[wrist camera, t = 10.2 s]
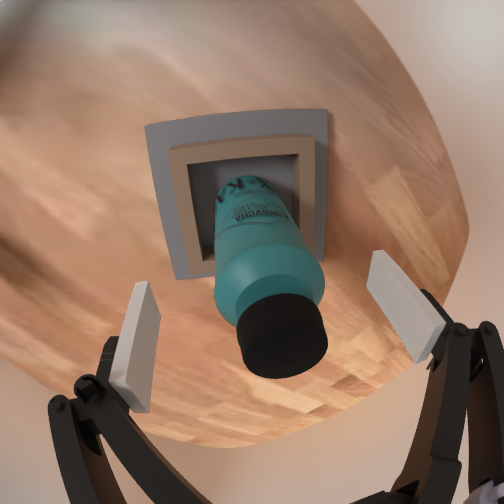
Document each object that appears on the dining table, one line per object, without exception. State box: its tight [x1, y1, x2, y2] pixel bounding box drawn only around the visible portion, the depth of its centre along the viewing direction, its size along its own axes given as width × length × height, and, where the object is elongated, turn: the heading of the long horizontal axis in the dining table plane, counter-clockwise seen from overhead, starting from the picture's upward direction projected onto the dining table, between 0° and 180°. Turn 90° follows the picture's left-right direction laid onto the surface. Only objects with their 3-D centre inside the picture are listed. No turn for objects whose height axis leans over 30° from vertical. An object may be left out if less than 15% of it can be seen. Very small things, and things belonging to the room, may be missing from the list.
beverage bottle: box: [212, 175, 328, 379], centre depth 20 cm, size 6×7×20 cm
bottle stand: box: [145, 109, 328, 280], centre depth 28 cm, size 18×18×4 cm
